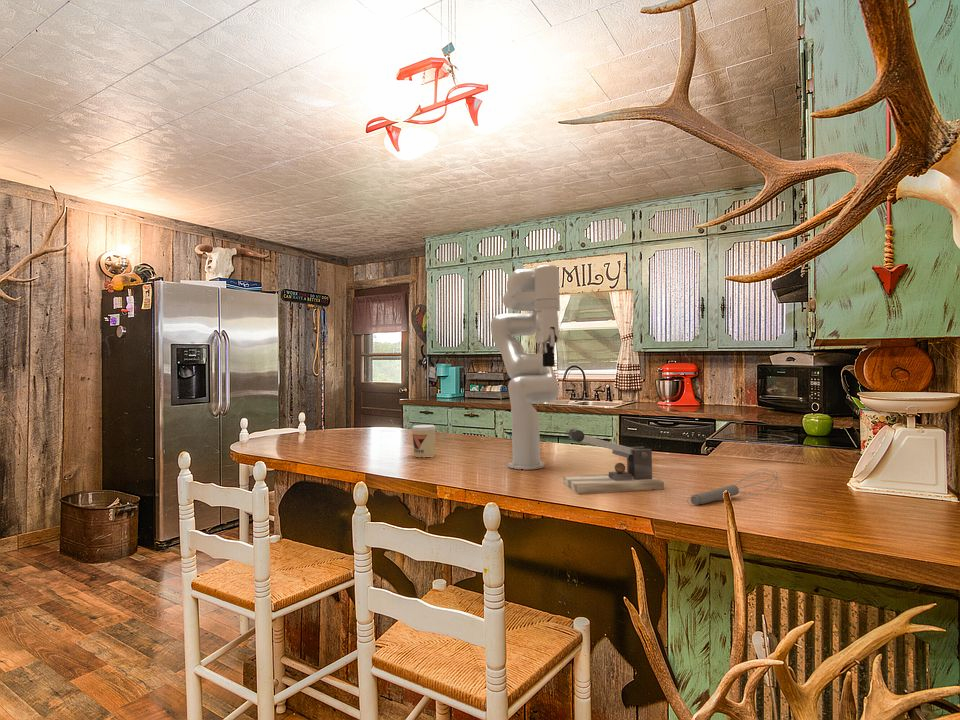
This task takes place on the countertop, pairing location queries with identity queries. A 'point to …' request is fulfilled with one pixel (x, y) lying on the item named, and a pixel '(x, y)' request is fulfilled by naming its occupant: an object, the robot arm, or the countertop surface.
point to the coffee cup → (424, 440)
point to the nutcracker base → (608, 484)
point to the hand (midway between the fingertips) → (548, 366)
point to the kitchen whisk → (718, 493)
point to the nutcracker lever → (600, 443)
